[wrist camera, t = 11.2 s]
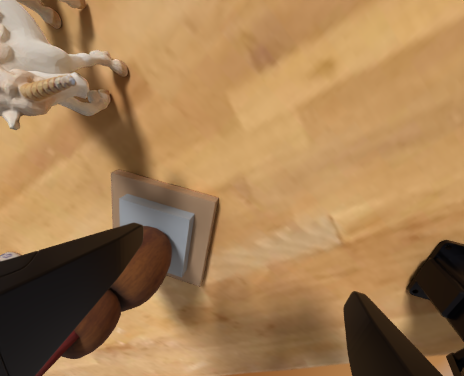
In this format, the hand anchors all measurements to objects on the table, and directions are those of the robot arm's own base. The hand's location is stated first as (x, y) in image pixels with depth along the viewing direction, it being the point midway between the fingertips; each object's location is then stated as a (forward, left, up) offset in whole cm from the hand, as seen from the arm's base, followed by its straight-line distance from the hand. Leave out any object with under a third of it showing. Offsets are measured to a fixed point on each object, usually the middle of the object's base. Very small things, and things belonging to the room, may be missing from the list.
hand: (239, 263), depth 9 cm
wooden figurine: (+10, +10, -11) cm, 18 cm away
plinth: (+10, +10, -13) cm, 19 cm away
